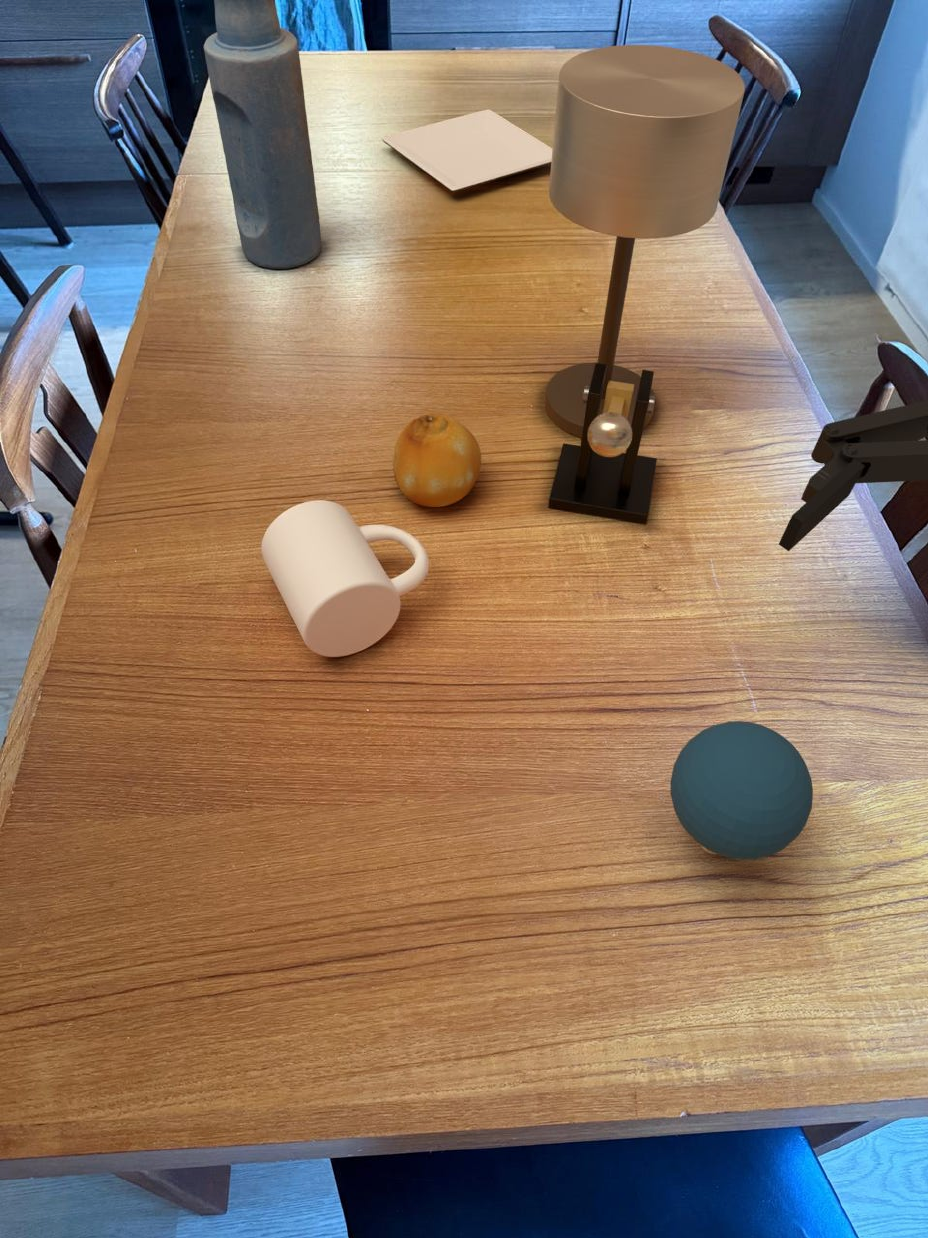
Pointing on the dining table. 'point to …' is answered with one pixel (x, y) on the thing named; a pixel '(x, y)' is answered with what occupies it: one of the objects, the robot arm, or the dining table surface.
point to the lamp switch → (612, 422)
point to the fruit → (436, 460)
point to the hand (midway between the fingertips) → (890, 602)
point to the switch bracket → (607, 464)
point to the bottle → (264, 133)
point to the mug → (337, 576)
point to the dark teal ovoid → (741, 790)
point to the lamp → (635, 172)
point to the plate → (470, 150)
